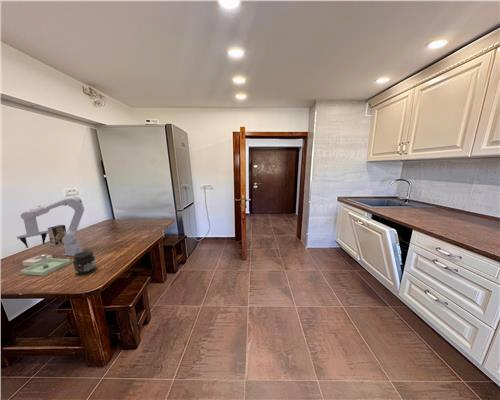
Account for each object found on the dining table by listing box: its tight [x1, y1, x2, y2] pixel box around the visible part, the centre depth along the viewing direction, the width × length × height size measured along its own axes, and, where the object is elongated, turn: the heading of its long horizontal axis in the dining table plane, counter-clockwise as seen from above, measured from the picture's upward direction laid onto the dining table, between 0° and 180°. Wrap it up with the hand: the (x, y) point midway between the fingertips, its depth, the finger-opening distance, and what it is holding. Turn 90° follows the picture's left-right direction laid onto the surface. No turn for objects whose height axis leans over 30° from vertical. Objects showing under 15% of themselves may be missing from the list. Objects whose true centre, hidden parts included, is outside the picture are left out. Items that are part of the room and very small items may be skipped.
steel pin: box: [38, 252, 49, 268], centre depth 121 cm, size 4×4×9 cm
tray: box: [20, 258, 72, 277], centre depth 121 cm, size 16×16×2 cm
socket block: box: [22, 254, 53, 267], centre depth 129 cm, size 10×10×3 cm
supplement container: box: [72, 250, 97, 276], centre depth 117 cm, size 10×10×12 cm
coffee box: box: [47, 224, 67, 247], centre depth 159 cm, size 9×6×16 cm
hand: (35, 245), depth 132 cm, fingers open, 7 cm apart
